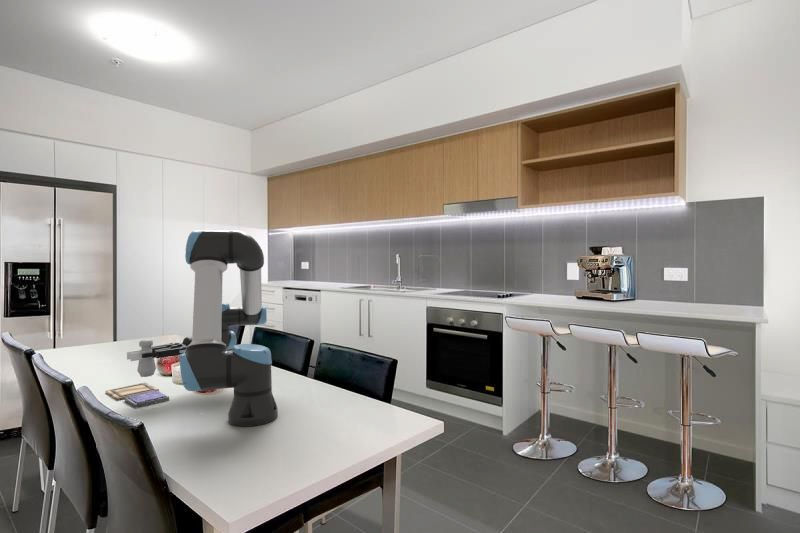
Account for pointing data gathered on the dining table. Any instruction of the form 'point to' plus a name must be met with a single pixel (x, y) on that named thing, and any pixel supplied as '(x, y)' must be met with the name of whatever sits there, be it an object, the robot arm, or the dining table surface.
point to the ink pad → (146, 398)
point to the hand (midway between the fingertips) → (129, 356)
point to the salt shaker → (146, 360)
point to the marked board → (131, 390)
